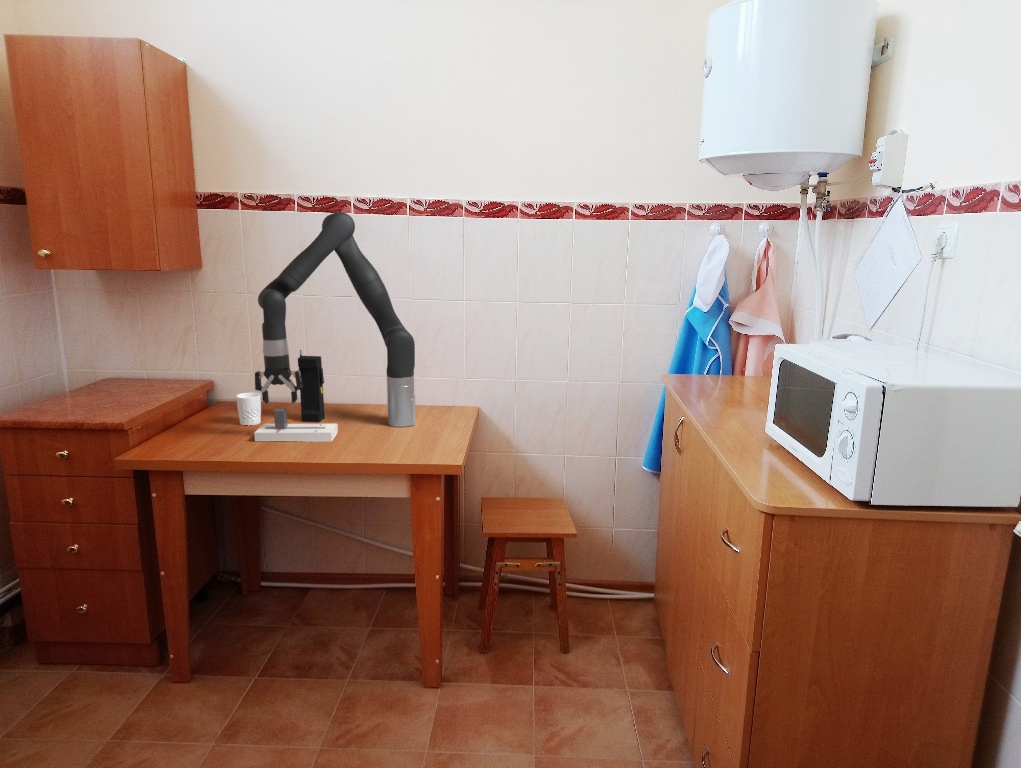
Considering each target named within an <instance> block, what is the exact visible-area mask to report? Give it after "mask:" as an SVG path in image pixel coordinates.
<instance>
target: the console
mask: <svg viewBox="0 0 1021 768" xmlns="http://www.w3.org/2000/svg"><path fill="white" fill-rule="evenodd" d="M287 425H288V426H287V427H286V428H285V429H275V423H263V424H262V425H261V426H259V428H258V429H257V430H256V431H254V441H299V442H300V441H303V442H304V443H305V442H306V443H307V442H311V441H312V442H314V443H315V442H318V443H321V442H322V443H323V442H327V443H328V442H330V443H331V442H333V440H334V439H335V437H336V436H337V434H338V433H339V431H338V429H339V427H338V423H322V422H321V423H287ZM299 442H298V443H299ZM303 442H302V443H303Z"/></svg>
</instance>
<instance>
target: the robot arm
mask: <svg viewBox="0 0 1021 768" xmlns="http://www.w3.org/2000/svg"><path fill="white" fill-rule="evenodd" d="M355 228H356V225H355V220H354V219H353V218H352V216H351V215H349V214H348V213H346V212H343V211H336V212H333V213H329V214H328V215H326V216H325V218H324V219H323V220H322V224H321V231H320V232H319V233H318V235H317V236H316V237H315V238H314V240H313V241H312V242H311V243H310V244H309V245H308V246H307V247H306V248H305V249H303V250H302V251H301V252H300V253H299V254H297V256H296V257H295V258H293V260H291V261H290V263H288V265H287V266H286V267H285V268H284V269H283V270H282V271H281V273H280V274H279V275H277V277H275V279H273V280H272V281H271V282H269V283H268V284H267V285H266V286H265V287H264V288H263V289H262V290H261V292H259V295H258V297H257V302H258V306H259V307H260V308H261V309H262V312H263V313H262V315H263V321H262V324H261V326H262V327H261V330H262V331H261V333H262V354H263V361H264V371H261V370H257V371H255V373H254V389H255V391H259V392H261V399H262V402H263V403H264V404H269V403H270V399H269V391H268V390H269V388H270V386H271V385H273V386H277V385H280V386H283V385H285V386H286V387H287V388H289V390H290V395H291V403H292V404H295V403H296V401H297V400H298V391H300V389H301V388H302V387H303V385H302V378H301V371H300V370H299V369H297V370H293V371H292V370H291V367H290V364H291V363H290V355H289V354H290V352H289V343H288V339H287V338H288V337H287V330H286V320H287V319H286V315H287V303H286V299H287V298H288V297H289V296H290V295H291V294H292V293H294V292H296V291H298V290H299V289H300V288H301V287H302V286H303V285H304V284H305V283H306V281H308V279H309V278H310V277H311V275H312V274H313V273H314V272H315V271H316V270H317V268H318V267H319V266H320V265H321V264H322V263H323V262H324V261H325V260H326V258H328V256H330V254H331V253H333V252H335V254H336V255H337V256H338V258H339V260H340V261H341V263H342V265H343V268H344V270H345V273H346V274H347V275H346V276H347V277H348V279H349V281H350V282H351V284H352V287H353V289H354V291H355V292H356V294H357V296H358V298H359V299H360V301H361V303H362V304H363V306H364V307H365V309H366V310H367V312H368V313H369V314H370V316H371V317H372V319H373V320H374V322H375V324H376V325H377V328H378V330H379V332H380V334H381V336H382V340H383V341H384V342H383V343H384V345H385V347H386V354H387V356H386V358H387V359H386V360H387V364H386V393H387V395H386V399H387V400H386V401H387V404H386V405H387V424H388V426H391V427H395V428H406V427H410V426H411V427H412V426H415V424H416V394H415V372H414V371H415V365H416V363H415V360H416V359H415V358H416V353H415V349H416V347H415V345H416V344H415V339H414V337H413V335H412V334H411V333H410V332H409V330H407V329H406V328H405V326H404V325H403V323H402V321H401V320H400V318H399V317H398V315H397V314H396V312H395V309H394V307H393V304H392V301H391V298H390V295H389V292H388V290H387V288H386V286H385V284H384V282H383V279H382V278H381V275H380V274H379V273H378V271H377V269H376V268H375V267H374V265H373V264H372V263H371V262H370V260H369V259H368V258H367V257H366V256H365V255H364V254H363V252H362V251H361V249H360V248H359V246H358V244H357V241H356V239H355V238H354V233H355V231H356V230H355ZM291 376H293V378H294V379H295V382H296V385H295V383H294V382H293V380H292V379H291ZM263 377H265V378H266V380H267V381H265V383H264V385H263V386H262V378H263Z"/></svg>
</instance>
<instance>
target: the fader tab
mask: <svg viewBox="0 0 1021 768" xmlns="http://www.w3.org/2000/svg"><path fill="white" fill-rule="evenodd" d="M273 416H274V424H275V429H285V428H286V427H287V426H288V425H287V424H288V412H287V408H286V407H283V408H281V407H278V408H277V407H276V408H275V410H273Z"/></svg>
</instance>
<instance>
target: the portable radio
mask: <svg viewBox="0 0 1021 768" xmlns="http://www.w3.org/2000/svg"><path fill="white" fill-rule="evenodd" d="M299 351H300V352H299V353H300V354H299V357H297V365H298V366H297V367H298V370H300V371H301V378H302V385H303V387H302V388H301V389H300V390H299V393H300V395H299V396H300V416H301V417H300V418H301V422H302V423H303V422H307V423H319V422H322V421H323V420H324V419H325V417H326V414H325V404H324V403H325V400H324V398H325V397H324V384H325V378H324V370H323V369H324V368H323V366H322V356H321V355H303V354H302V351H303V350H301V349H300V350H299Z"/></svg>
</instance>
